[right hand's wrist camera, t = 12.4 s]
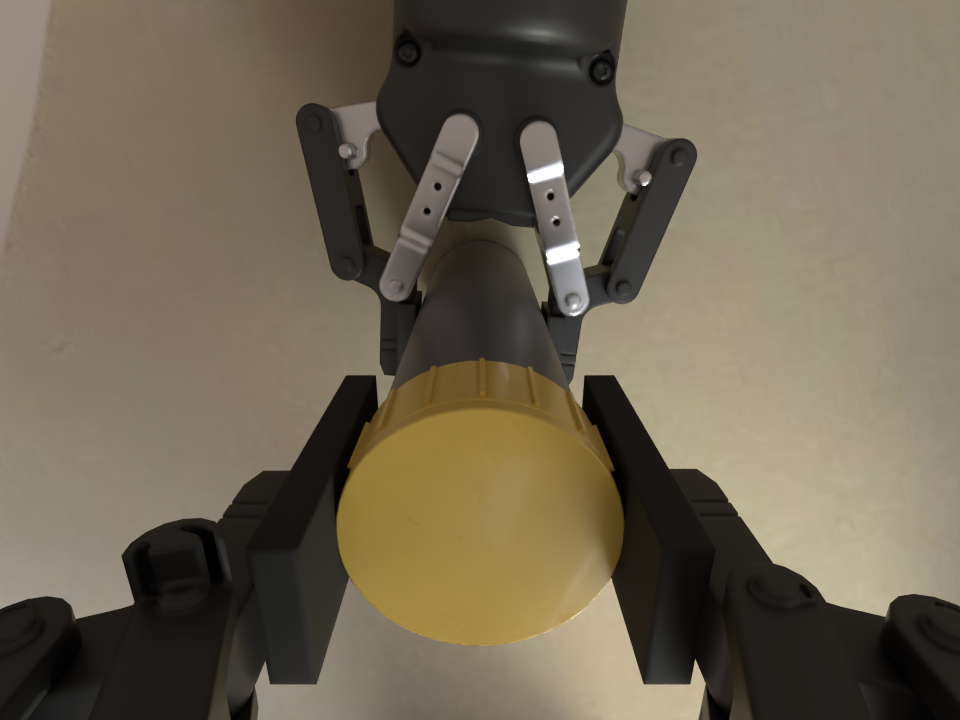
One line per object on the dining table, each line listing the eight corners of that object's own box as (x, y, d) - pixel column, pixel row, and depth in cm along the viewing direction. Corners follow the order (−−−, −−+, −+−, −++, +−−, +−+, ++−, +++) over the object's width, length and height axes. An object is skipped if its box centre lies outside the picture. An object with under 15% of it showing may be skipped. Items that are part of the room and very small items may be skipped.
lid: (514, 602, 14) (520, 686, 12) (314, 502, 13) (280, 574, 11) (653, 438, 12) (690, 501, 10) (436, 307, 11) (426, 346, 9)
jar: (494, 353, 29) (514, 656, 12) (412, 304, 28) (305, 554, 11) (548, 275, 28) (664, 490, 10) (464, 220, 27) (436, 355, 9)
